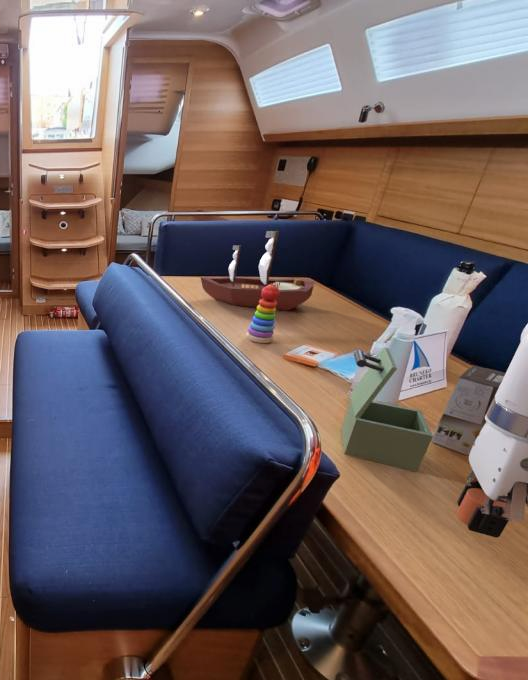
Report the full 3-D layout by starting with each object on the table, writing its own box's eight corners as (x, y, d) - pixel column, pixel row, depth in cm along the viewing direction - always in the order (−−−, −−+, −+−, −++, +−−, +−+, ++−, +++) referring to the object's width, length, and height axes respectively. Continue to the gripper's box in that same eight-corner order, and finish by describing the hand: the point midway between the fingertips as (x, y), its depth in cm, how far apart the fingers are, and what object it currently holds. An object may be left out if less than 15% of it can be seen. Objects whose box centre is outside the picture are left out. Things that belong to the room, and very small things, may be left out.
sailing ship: (309, 316, 155) (330, 236, 143) (195, 304, 173) (205, 232, 161) (305, 301, 169) (323, 228, 157) (199, 291, 187) (209, 225, 175)
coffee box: (470, 457, 85) (504, 390, 78) (429, 441, 90) (458, 377, 83) (483, 440, 89) (516, 375, 83) (443, 426, 94) (472, 363, 88)
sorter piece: (490, 516, 63) (503, 493, 61) (501, 537, 59) (514, 514, 58) (452, 506, 65) (463, 484, 63) (460, 525, 62) (472, 503, 60)
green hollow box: (407, 444, 89) (421, 410, 86) (416, 472, 82) (433, 436, 78) (340, 429, 95) (351, 396, 91) (344, 454, 88) (356, 419, 84)
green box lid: (388, 348, 85) (359, 338, 87) (397, 368, 77) (365, 357, 79) (354, 395, 91) (327, 385, 93) (359, 418, 84) (329, 407, 86)
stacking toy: (258, 345, 135) (270, 290, 128) (240, 336, 142) (250, 283, 135) (278, 341, 137) (291, 287, 129) (259, 332, 144) (270, 280, 136)
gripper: (612, 468, 46) (538, 577, 54) (544, 394, 59) (492, 491, 67) (514, 448, 50) (458, 553, 58) (470, 383, 63) (429, 476, 70)
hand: (476, 519), depth 62 cm, fingers closed on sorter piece, 4 cm apart
